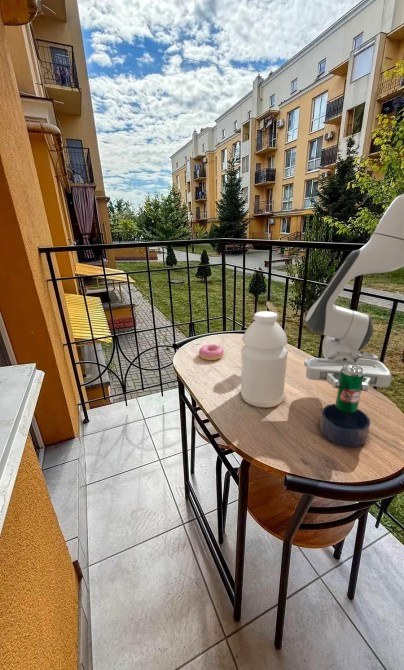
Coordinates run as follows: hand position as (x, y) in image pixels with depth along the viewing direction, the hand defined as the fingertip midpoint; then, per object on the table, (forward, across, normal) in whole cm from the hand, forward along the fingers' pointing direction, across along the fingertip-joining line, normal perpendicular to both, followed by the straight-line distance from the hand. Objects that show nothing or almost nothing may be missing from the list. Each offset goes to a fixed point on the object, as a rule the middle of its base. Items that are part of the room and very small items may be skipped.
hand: (350, 387), depth 69 cm
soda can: (-1, 0, +7) cm, 7 cm away
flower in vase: (-39, -23, +15) cm, 47 cm away
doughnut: (-40, -46, +15) cm, 63 cm away
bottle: (-13, -22, +14) cm, 30 cm away
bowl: (-1, 0, +14) cm, 14 cm away
